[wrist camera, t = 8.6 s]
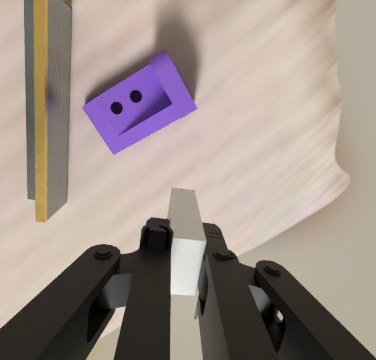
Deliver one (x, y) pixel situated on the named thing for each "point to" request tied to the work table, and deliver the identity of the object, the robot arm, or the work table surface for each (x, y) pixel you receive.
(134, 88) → the bracket
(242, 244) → the work table surface
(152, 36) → the work table surface
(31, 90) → the wall
